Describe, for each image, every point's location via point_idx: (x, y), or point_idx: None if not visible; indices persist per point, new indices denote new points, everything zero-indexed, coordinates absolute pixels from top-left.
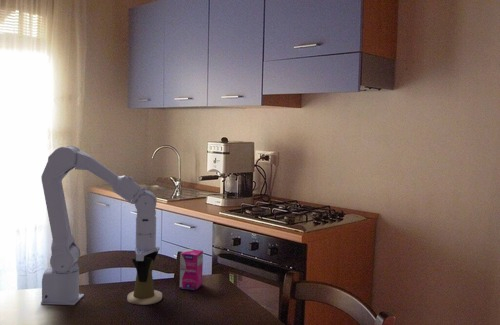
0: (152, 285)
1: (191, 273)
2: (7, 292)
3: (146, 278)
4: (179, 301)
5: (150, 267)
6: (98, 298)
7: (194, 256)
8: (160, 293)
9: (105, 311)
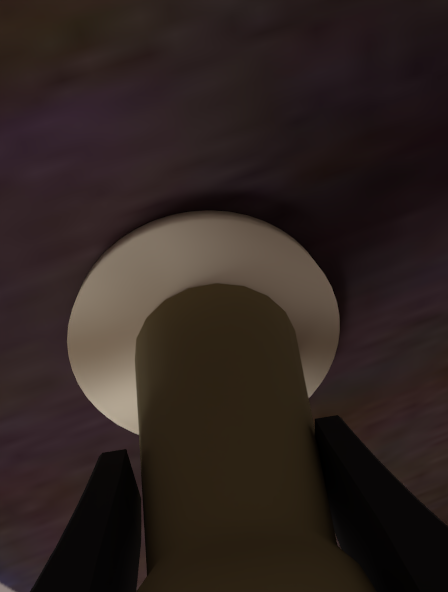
0: (232, 348)
1: None
2: None
3: (363, 444)
4: (213, 11)
5: (324, 560)
6: None
7: None
8: (138, 251)
9: (431, 436)
